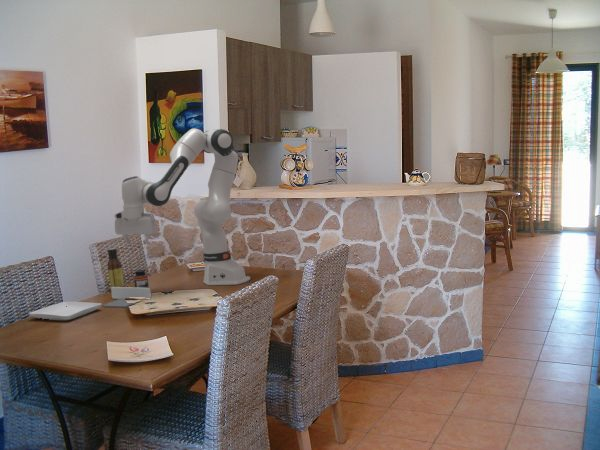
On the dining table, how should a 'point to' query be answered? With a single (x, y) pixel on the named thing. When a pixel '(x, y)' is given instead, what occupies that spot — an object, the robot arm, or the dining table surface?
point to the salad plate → (65, 310)
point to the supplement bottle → (141, 279)
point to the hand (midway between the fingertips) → (137, 244)
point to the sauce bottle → (115, 269)
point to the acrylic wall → (130, 292)
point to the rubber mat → (118, 304)
